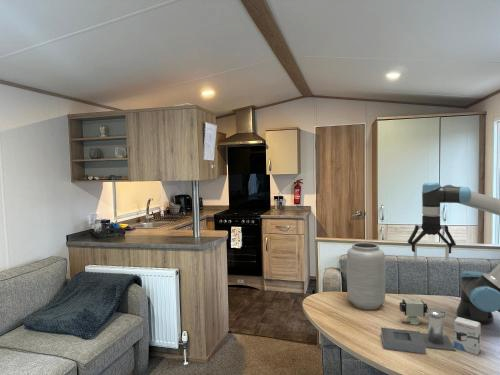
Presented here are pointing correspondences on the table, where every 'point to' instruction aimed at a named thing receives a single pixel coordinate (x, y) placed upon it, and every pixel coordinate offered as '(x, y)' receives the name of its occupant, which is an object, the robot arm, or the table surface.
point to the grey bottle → (435, 325)
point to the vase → (366, 275)
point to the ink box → (467, 335)
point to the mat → (444, 346)
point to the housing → (403, 340)
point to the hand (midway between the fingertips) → (431, 259)
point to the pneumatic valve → (413, 310)
